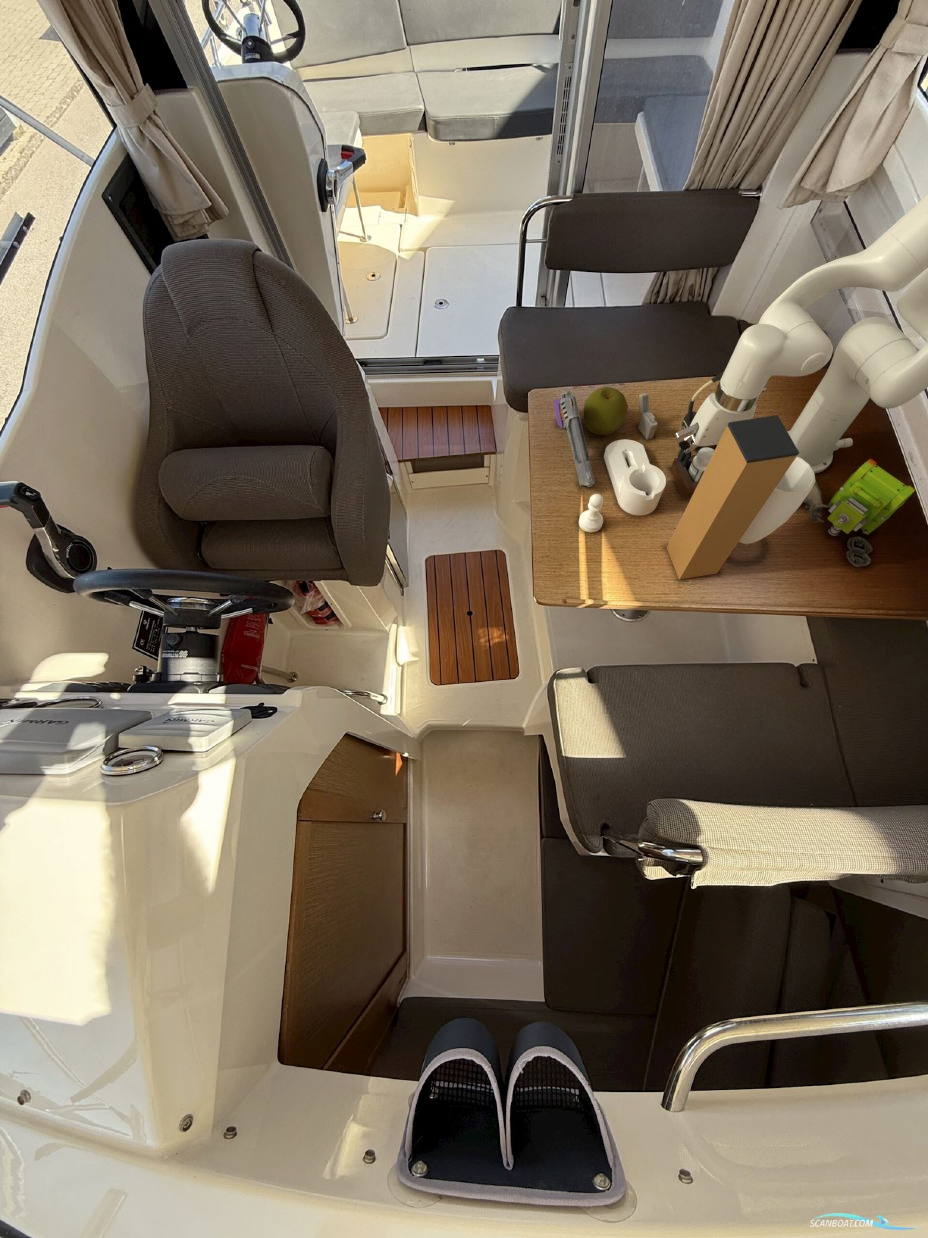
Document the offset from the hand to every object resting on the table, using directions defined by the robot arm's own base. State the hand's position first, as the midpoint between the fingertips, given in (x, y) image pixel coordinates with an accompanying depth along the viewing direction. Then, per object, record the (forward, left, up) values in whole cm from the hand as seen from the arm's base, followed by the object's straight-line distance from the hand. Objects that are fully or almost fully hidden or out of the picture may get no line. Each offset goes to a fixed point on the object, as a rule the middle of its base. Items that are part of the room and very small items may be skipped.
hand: (703, 458), depth 121 cm
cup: (-4, +18, -7) cm, 19 cm away
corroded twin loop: (-26, +25, -7) cm, 37 cm away
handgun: (+23, -18, -11) cm, 31 cm away
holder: (-1, 0, -7) cm, 7 cm away
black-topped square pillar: (+7, +20, -7) cm, 22 cm away
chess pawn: (+25, +7, -7) cm, 27 cm away
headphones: (-6, -11, -7) cm, 14 cm away
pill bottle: (-1, 0, -7) cm, 7 cm away
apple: (+16, -20, -7) cm, 26 cm away
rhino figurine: (-20, +11, -7) cm, 24 cm away
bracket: (+13, -3, -7) cm, 16 cm away
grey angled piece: (+6, -18, -7) cm, 20 cm away
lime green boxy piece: (-32, +15, 0) cm, 35 cm away
